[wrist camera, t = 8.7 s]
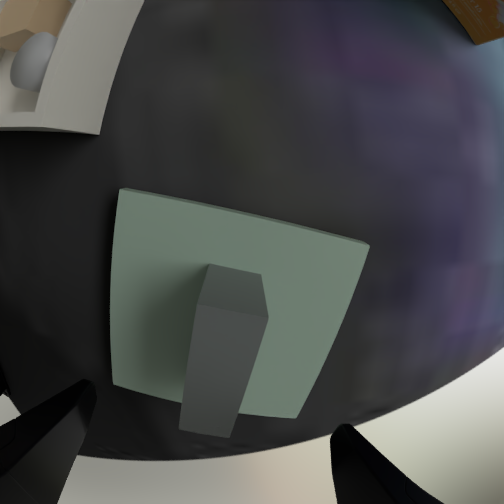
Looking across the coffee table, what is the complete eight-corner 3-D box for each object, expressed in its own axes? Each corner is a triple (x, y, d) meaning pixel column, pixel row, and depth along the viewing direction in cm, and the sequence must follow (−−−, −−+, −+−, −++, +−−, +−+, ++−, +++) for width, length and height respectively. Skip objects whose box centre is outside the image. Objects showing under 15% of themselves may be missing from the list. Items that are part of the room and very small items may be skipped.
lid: (121, 367, 17) (91, 428, 11) (133, 186, 13) (73, 200, 8) (292, 400, 18) (305, 465, 12) (356, 236, 15) (412, 275, 9)
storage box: (-16, 131, 11) (-66, 132, 6) (31, -4, 8) (-5, -26, 3) (99, 134, 12) (41, 126, 7) (160, -30, 9) (137, -77, 4)
